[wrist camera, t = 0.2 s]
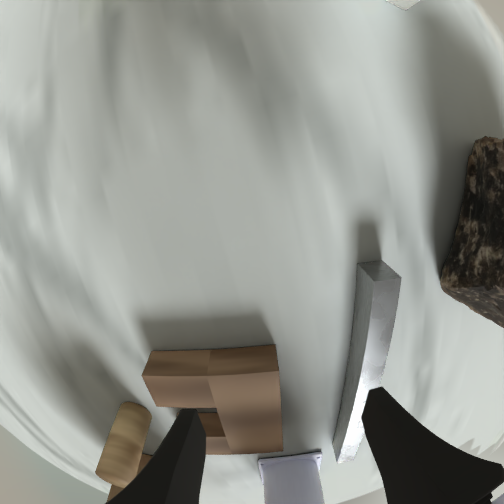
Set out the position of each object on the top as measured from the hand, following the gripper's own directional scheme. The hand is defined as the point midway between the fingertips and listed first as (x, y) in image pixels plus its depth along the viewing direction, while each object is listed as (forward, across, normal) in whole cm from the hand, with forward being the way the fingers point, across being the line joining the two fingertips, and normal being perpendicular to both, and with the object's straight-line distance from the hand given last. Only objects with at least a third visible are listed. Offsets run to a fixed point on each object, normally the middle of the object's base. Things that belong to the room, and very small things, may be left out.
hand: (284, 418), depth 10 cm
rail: (+10, -8, +10) cm, 16 cm away
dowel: (+10, +15, +13) cm, 22 cm away
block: (+10, +5, +10) cm, 15 cm away
